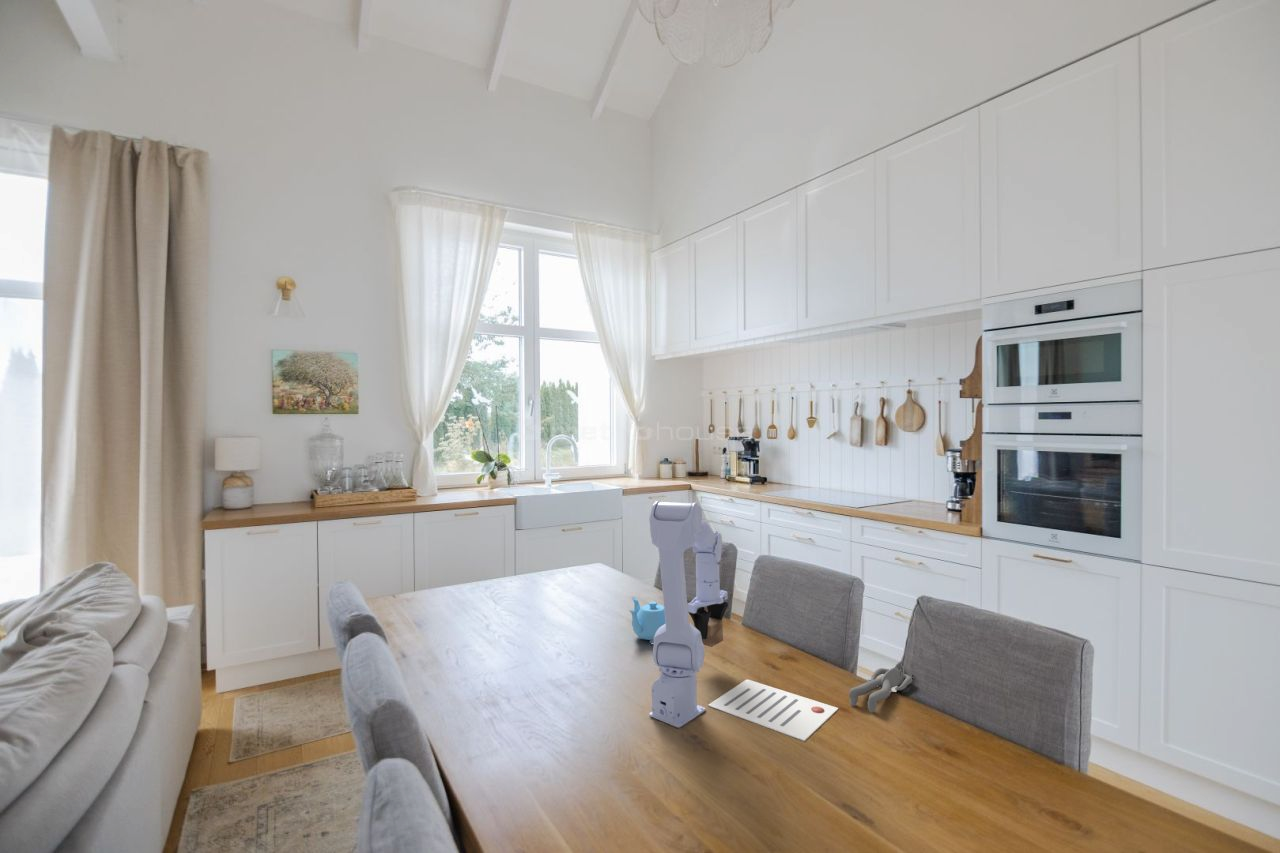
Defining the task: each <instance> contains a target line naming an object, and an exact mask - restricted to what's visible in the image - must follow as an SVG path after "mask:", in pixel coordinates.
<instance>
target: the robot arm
mask: <svg viewBox="0 0 1280 853" xmlns="http://www.w3.org/2000/svg"><path fill="white" fill-rule="evenodd" d="M649 530H650V538H651V544H653V545H654V546H655V547H656V548H657V549H658V557H659V565H660V575H661V578H660V579H661V588H662V600H663V606H664V612H665V624H664V625H662V626H661V627H660V628H659V629H658V630H657V631H656V633H655V636H654V644H653V648H652V659H653V660H652V661H653V662H654V664H655V666H656V667H658V672H661V673H660V675H659V677H657V678H656V680H654V682H653V683H652V686H651V700H652V702H651V706H652V707H651V711H650V712H649V714H648V716H649V717H651V718H654V719H656V720H659V721H661V722H663V723H666V724H668V725H670V726H672V727H675V728H679V729H680V728H681V727H683V726H685V725H686V724H687V723H689V722H690V721H692V720H694V719H696V717H698V716H700V715H701V714H702V713H704V712H705V711H706V709H707V708H706V707H704V706H702V705H699V704H698V695H697V693H698V692H697V687H698V686H697V673H698V672H700V670H701V669H702V668H703V666H704V663H705V662H704V661H705V655H706V654H705V645H704V644H703V642H702V639H706V638H707V632H708V622H709V618H710V617H711V618H715V619H719V620H722V621H723V618H724V616H725V612H726V611H727V608H728V607H729V606H728V605H729V604H728V602H726V601H724V600H727V599H728V597H729V596H728V594H729V593H728V591H727V590H723V589H720V586H721V585H720V584H721V582H720V581H721V580H720V561H722V560H721V559H722V548H723V537H722V534H721V533H720V532H719V531H717V530H713V529H712V528H711V526H710V524H708V522H707V521H706V520H705V519H704V518H703V510H702V507H701V505H700V504H699V503H698V502H672V501H670V502H669V501H660V500H656V501H655V502H654V503H653V505H652V506H651V510H650V514H649ZM690 548H692V553H693V554H695V573H696V574H695V578H696V579H695V584H696V586H695V587H696V588H695V590H696V591H695V592H696V596H695V597H694V598H692V600H691V601H690V602H688V596H687V584H686V581H687V580H686V573H685V572H686V570H685V561H684V560H685V558H684V553H685V551H686V550H688V549H690ZM689 617H690V618H691V619H692V622H693V624H692V623H691V622H689V621H690V619H689ZM694 624H695V627H694Z"/></svg>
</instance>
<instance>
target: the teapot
mask: <svg viewBox="0 0 1280 853" xmlns="http://www.w3.org/2000/svg"><path fill="white" fill-rule="evenodd" d="M631 599H632V601H633V605H634V610H632V609H628V611H629V612H630V615H631V616H632V617H631V626H632V630H633V632H634V634H636V636H637V638H638V637H639V638H642V640H649V644H650V643H654V636H655V633H656V631H657V630H658V629H659V628H660V627H661V626H662V625H664V624H665V612H664V604H663V605H662V604H658V602H656V601H650V602H648V604H644V605H643V606H640V602H639V600H638V599H637V598H636V597H635V596H631Z"/></svg>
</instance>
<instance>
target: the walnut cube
mask: <svg viewBox="0 0 1280 853" xmlns="http://www.w3.org/2000/svg"><path fill="white" fill-rule="evenodd" d="M723 623H724V622H723V619H722V620H719V619H715V618H711V617H710V618H709V622H708V632H707V638H706V639H702V642H703V644H704V646H707V647H709V648H713V647H715V646H716V645H718V644H720V643H722V642H723V641H724V626H723V625H724V624H723ZM693 626H694V627H695V624H694V623H693Z"/></svg>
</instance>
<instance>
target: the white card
mask: <svg viewBox="0 0 1280 853" xmlns="http://www.w3.org/2000/svg"><path fill="white" fill-rule="evenodd" d="M707 706H708V707H710V708H713V709H716V710H718V711H721V712H724V713H726V714H729V715H732V716H734V717H737V718H740V719H743V720H746V721H748V722H751V723H754V724H756V725H759V726H762V727H763V728H764V727H765V728H768V729H770V730H772V731H776V732H778V733H781V734H784V735H787V736H789V737H792V738H794V739H796V740H799V741H802V742H806V740H808V738H810V737H811V736H812V735H813V734H814V733H815V732H816V731H817V730H818V729H819V728H820V727H822V725H823V724H824V723H826V721H828V720H829V719H830V718H831V717H832V716H833V715H834V714H835V713H837V711H838V710H839V707H836V706H833V705H830V704H827V703H823V702H820V701H817V700H814V699H811V698H807V697H805V696H801V695H799V694H795V693H792V692H790V691H789V692H788V691H785V690H782V689H779V688H776V687H774V686H770V685H767V684H763V683H761V682H757V681H753V680H751V679H745V680H744V681H742V682H740V683H739V684H737V685H736V686H735V687H733V688H731V689H730V690H727V692H725V693H724V694H722V695H721V696H720V697H718V698H717V699H715V700H713V701H712V702H710V703H709V704H708V705H707Z"/></svg>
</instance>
